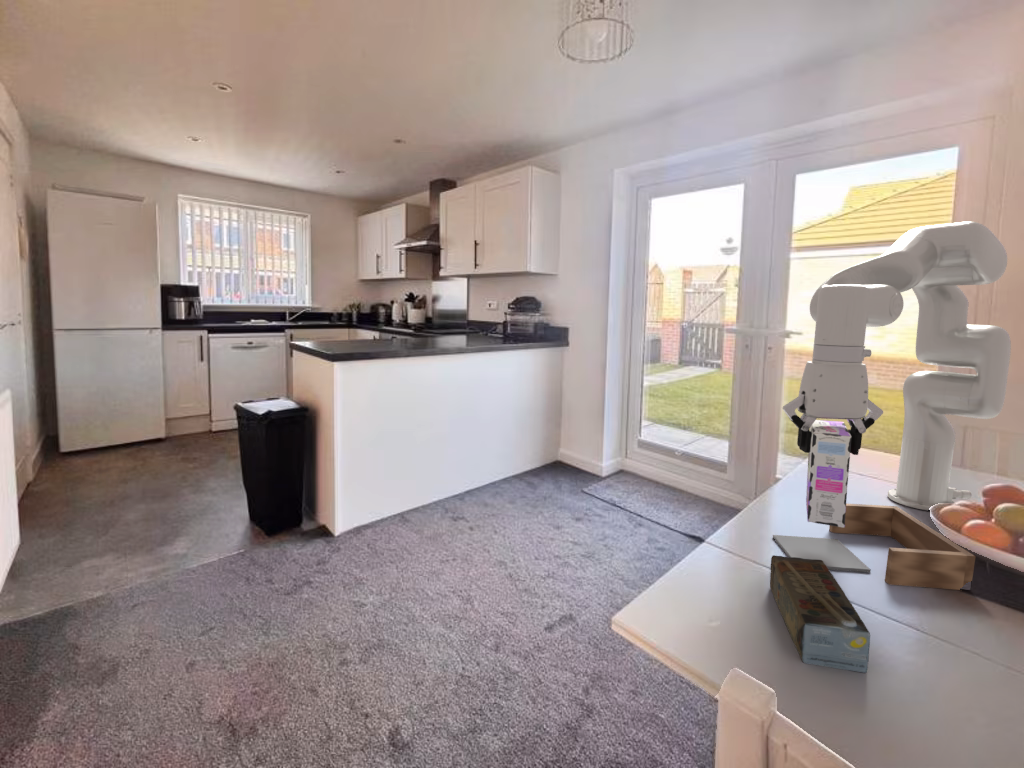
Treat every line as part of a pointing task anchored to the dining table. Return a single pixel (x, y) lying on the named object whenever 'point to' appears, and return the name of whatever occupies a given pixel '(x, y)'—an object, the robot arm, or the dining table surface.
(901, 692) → the dining table surface
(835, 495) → the candy box
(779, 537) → the mat
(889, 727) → the dining table surface
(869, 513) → the bracket
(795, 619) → the beverage carton
